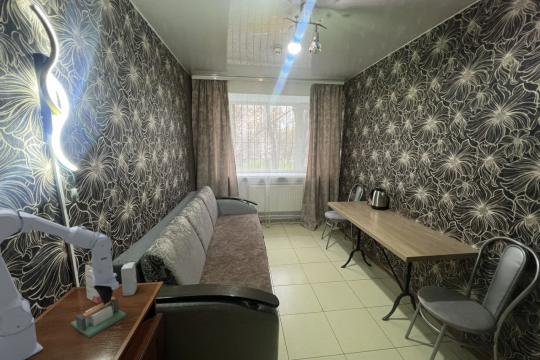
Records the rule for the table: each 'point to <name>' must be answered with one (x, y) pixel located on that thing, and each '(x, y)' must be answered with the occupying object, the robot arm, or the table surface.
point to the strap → (97, 308)
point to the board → (101, 325)
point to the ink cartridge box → (91, 286)
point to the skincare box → (129, 278)
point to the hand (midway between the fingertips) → (107, 301)
